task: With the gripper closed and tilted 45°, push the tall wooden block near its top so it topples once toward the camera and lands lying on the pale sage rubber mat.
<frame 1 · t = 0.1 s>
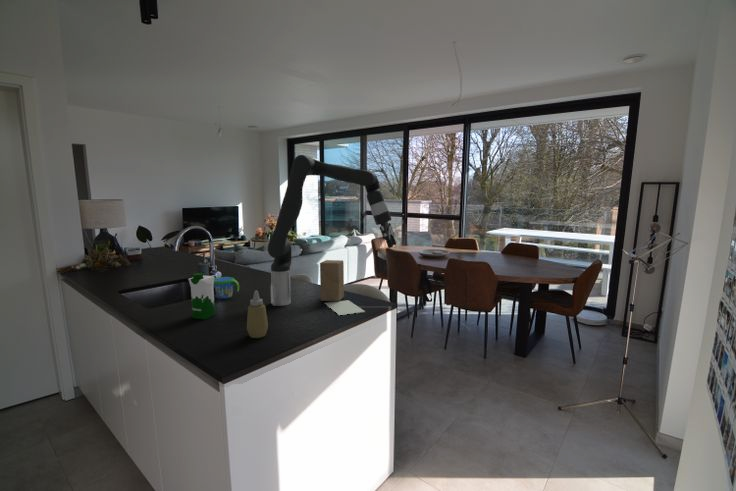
hand: (392, 246, 168), 31 cm above the worktop, tool tilted 20°, fingers open, 8 cm apart
squeeze bottle: (257, 336, 143), on the worktop
wooden block: (332, 299, 193), on the worktop, touching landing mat
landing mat: (344, 307, 179), on the worktop
snack cup: (224, 297, 196), on the worktop
milk carton: (204, 316, 166), on the worktop
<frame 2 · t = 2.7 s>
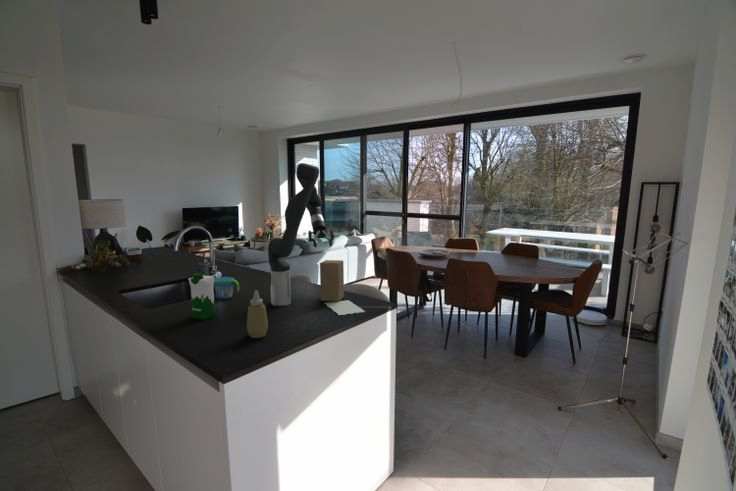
hand: (323, 246, 204), 26 cm above the worktop, tool tilted 45°, fingers open, 8 cm apart
nothing on the worktop moved.
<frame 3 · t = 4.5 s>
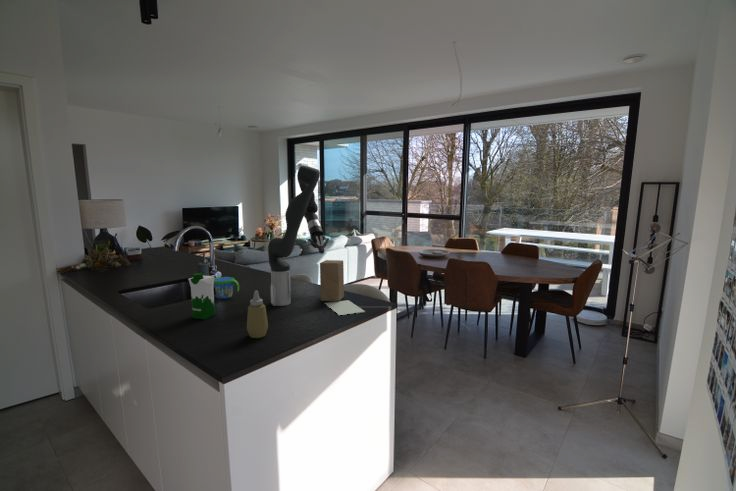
hand: (322, 252, 204), 23 cm above the worktop, tool tilted 45°, fingers closed
nothing on the worktop moved.
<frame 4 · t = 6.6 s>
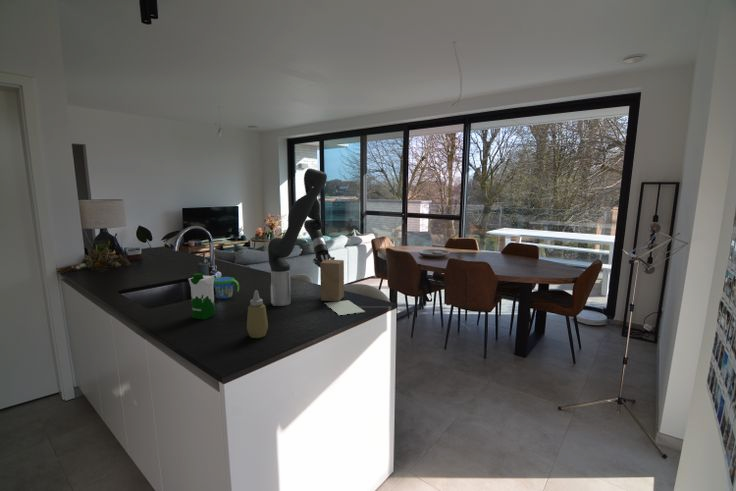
hand: (327, 272, 198), 13 cm above the worktop, tool tilted 45°, fingers closed
wooden block: (332, 299, 193), on the worktop, touching gripper, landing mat
everything else where it was.
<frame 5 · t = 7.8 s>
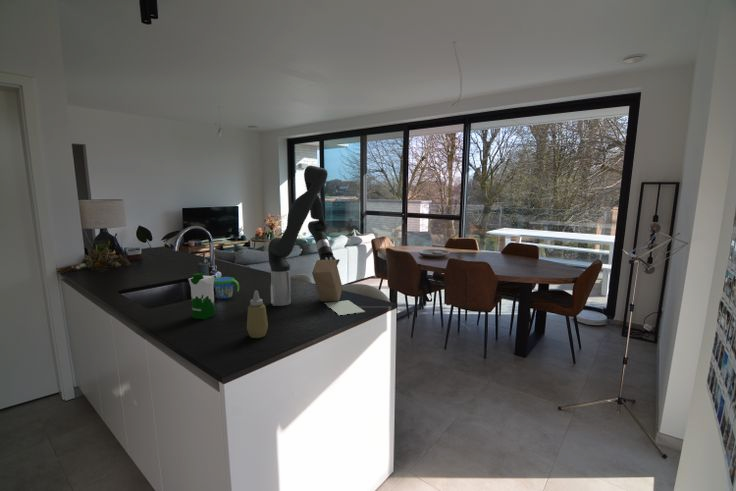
hand: (332, 275, 191), 13 cm above the worktop, tool tilted 45°, fingers closed
wooden block: (332, 295, 192), point 3 cm above the worktop, touching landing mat
everything else where it was.
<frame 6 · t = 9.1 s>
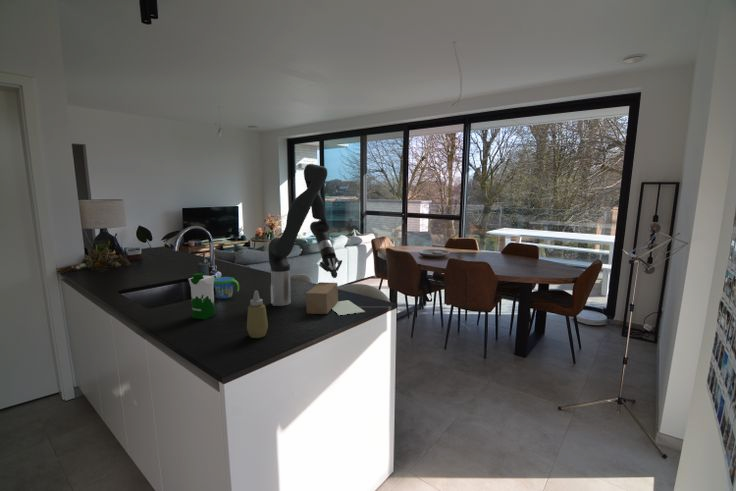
hand: (335, 277, 188), 13 cm above the worktop, tool tilted 45°, fingers closed
wooden block: (328, 291, 188), point 5 cm above the worktop, touching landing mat
everything else where it was.
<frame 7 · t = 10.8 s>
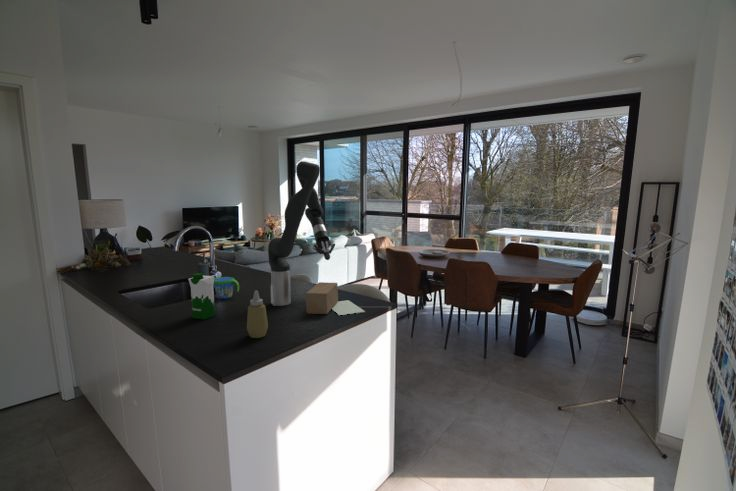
hand: (328, 259, 197), 20 cm above the worktop, tool tilted 45°, fingers closed
nothing on the worktop moved.
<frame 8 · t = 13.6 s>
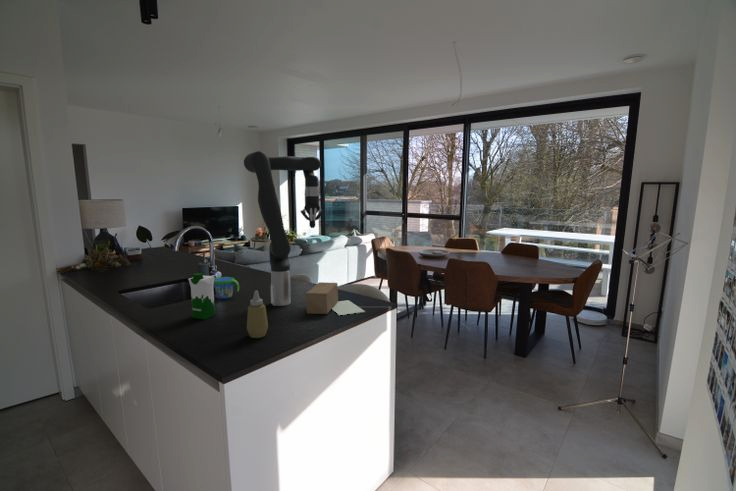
hand: (312, 227, 198), 37 cm above the worktop, tool pointing down, fingers closed
nothing on the worktop moved.
at the end: wooden block tilted 91°; wooden block touching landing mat, worktop; wooden block moved 7.5 cm from its start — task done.
